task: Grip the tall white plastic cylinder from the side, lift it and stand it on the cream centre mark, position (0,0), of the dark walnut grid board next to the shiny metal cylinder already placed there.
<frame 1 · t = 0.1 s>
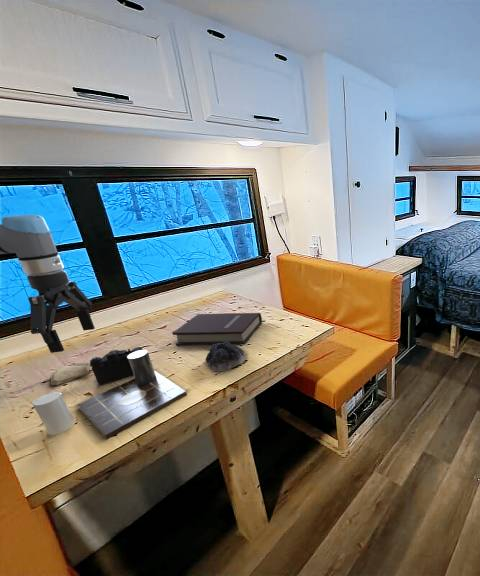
hand: (74, 339, 91), 19 cm above the table, tool pointing down, fingers open, 13 cm apart
camera: (125, 372, 107), on the table
shiny metal cylinder: (146, 380, 100), point 2 cm above the table, touching grid board
white plastic cylinder: (61, 427, 83), on the table
crystal cluster: (227, 362, 111), on the table
book: (222, 333, 133), on the table
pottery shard: (74, 375, 106), on the table
grid board: (134, 401, 93), on the table
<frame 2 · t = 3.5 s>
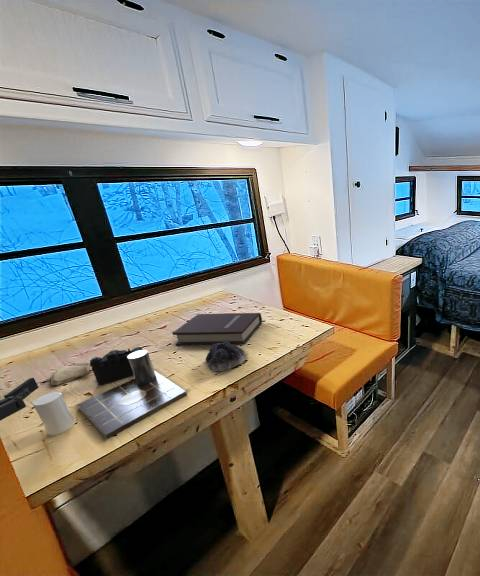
nothing on the table moved.
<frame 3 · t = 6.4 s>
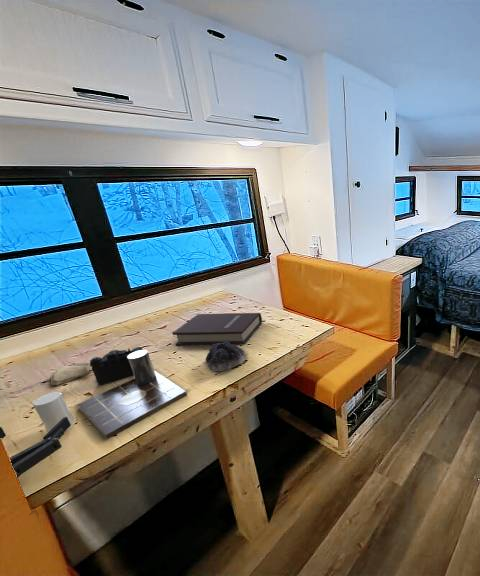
hand: (35, 426, 76), 6 cm above the table, tool horizontal, fingers open, 13 cm apart
nothing on the table moved.
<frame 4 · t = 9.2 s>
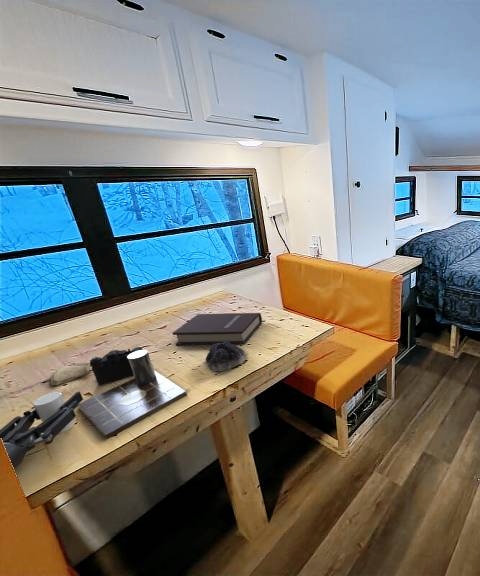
hand: (67, 397, 86), 6 cm above the table, tool horizontal, fingers closed on white plastic cylinder, 5 cm apart
white plastic cylinder: (61, 427, 83), on the table, touching gripper
everything else where it was.
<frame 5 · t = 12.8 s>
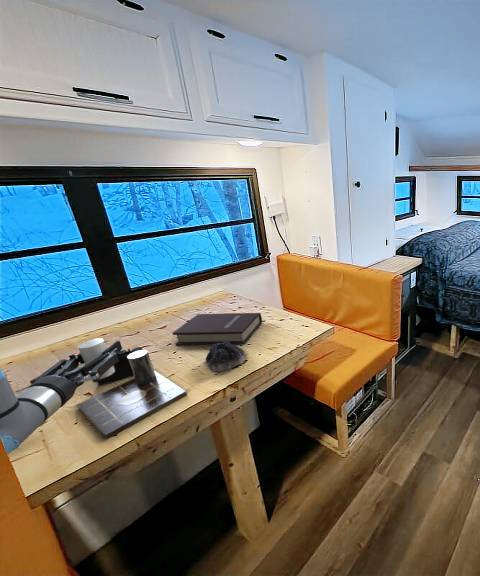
hand: (107, 346, 89), 18 cm above the table, tool horizontal, fingers closed on white plastic cylinder, 5 cm apart
white plastic cylinder: (103, 374, 86), point 12 cm above the table, touching gripper
everything else where it was.
when the fingers open (8 cm above the table, at t = 16.5 s): white plastic cylinder stays where it is, resting on grid board.
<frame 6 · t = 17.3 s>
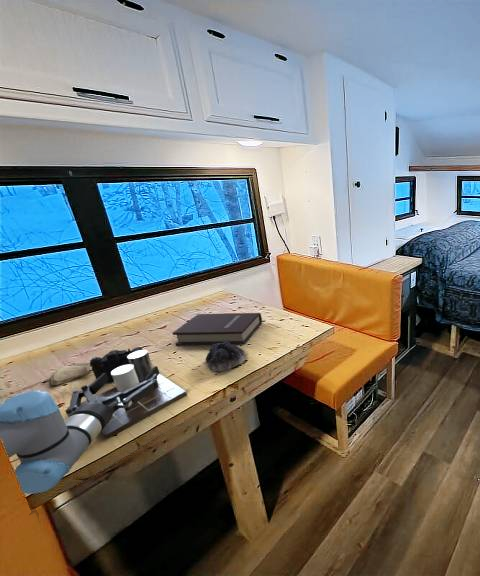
hand: (132, 373, 93), 8 cm above the table, tool horizontal, fingers open, 13 cm apart
white plastic cylinder: (132, 397, 92), point 2 cm above the table, touching grid board
everything else where it was.
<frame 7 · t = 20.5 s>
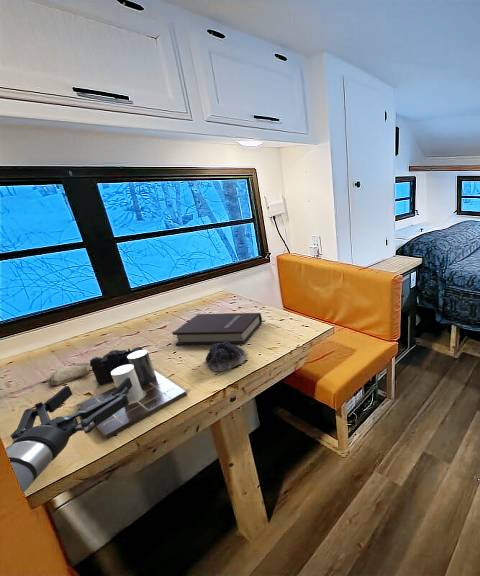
hand: (99, 385, 79), 13 cm above the table, tool horizontal, fingers open, 13 cm apart
nothing on the table moved.
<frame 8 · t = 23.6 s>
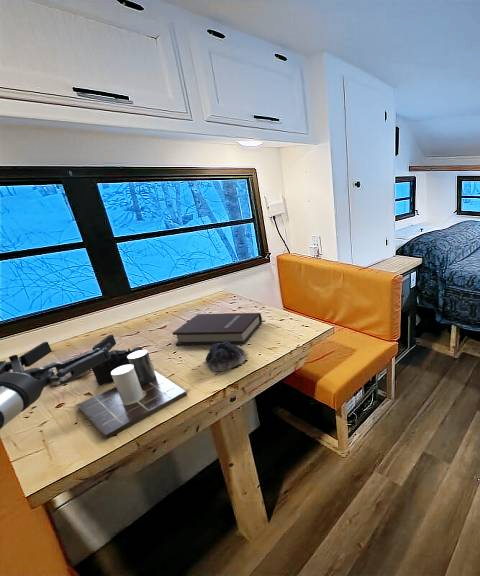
hand: (81, 342, 75), 26 cm above the table, tool horizontal, fingers open, 13 cm apart
nothing on the table moved.
at the end: white plastic cylinder 0.1 cm off-centre on the grid board, point 1.6 cm above the grid board's base; white plastic cylinder tilted 0°; shiny metal cylinder moved 0.0 cm from its start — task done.
